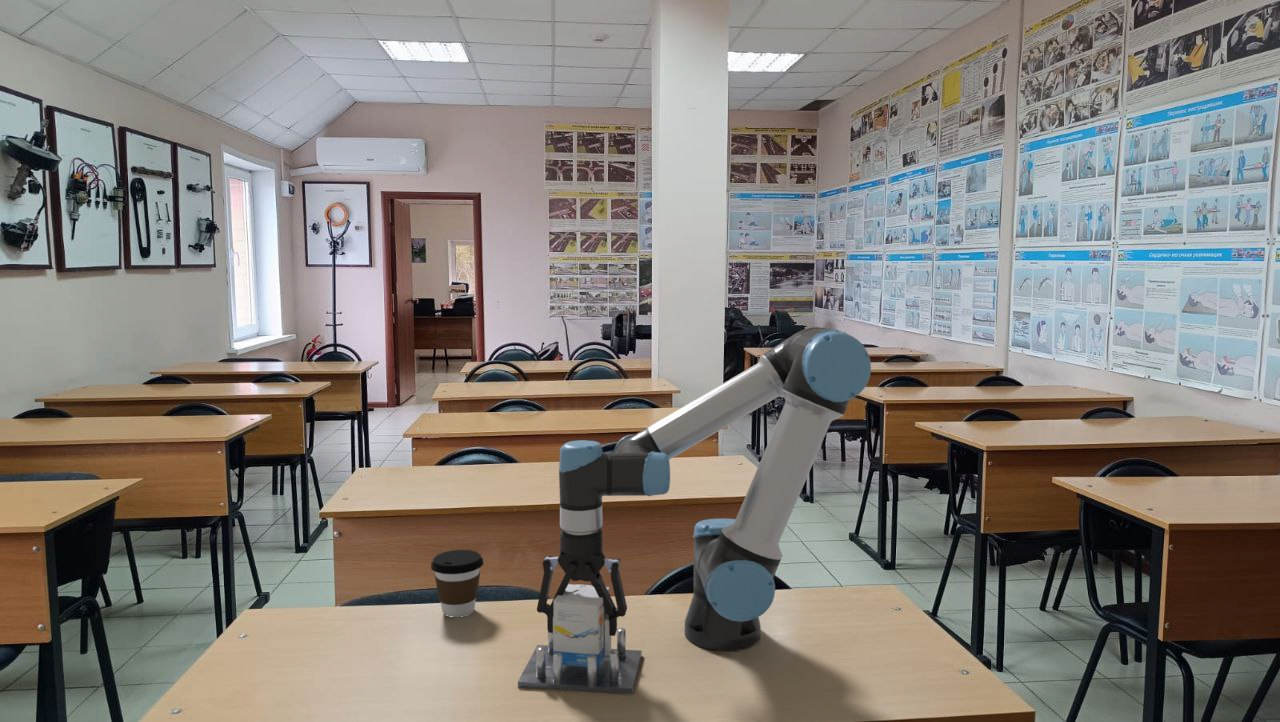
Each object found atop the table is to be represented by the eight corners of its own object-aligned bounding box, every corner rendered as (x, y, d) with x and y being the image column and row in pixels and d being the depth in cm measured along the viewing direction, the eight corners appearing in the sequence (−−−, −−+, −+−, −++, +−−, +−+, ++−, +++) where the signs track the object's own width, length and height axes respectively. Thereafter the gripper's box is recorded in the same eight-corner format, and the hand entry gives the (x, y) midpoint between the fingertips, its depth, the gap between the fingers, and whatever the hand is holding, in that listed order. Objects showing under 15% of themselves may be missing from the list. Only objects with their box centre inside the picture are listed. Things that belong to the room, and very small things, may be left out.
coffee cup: (467, 626, 160) (466, 569, 159) (421, 618, 164) (419, 563, 162) (494, 605, 170) (492, 552, 169) (450, 599, 174) (449, 546, 173)
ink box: (599, 669, 136) (598, 604, 135) (552, 664, 138) (551, 600, 137) (610, 646, 145) (610, 585, 144) (566, 642, 146) (566, 582, 145)
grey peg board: (641, 654, 148) (641, 624, 147) (631, 695, 133) (631, 661, 133) (538, 648, 150) (537, 618, 150) (517, 688, 136) (516, 655, 135)
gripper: (643, 524, 142) (643, 644, 144) (527, 520, 144) (529, 638, 146) (638, 537, 134) (639, 663, 136) (516, 533, 137) (518, 657, 139)
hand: (582, 650), depth 141 cm, fingers closed on ink box, 9 cm apart
